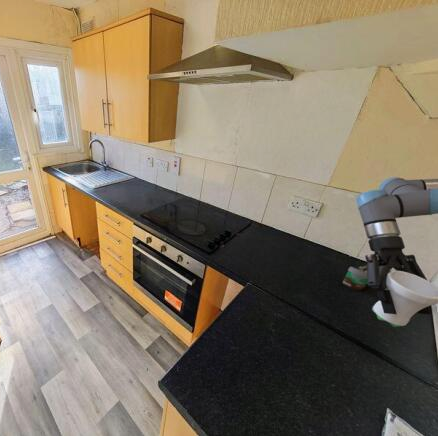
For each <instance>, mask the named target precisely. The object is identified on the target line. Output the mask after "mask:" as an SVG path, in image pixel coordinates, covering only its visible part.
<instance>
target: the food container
mask: <svg viewBox="0 0 438 436" xmlns="http://www.w3.org/2000/svg"><path fill="white" fill-rule="evenodd" d="M341 284H342V285H344V286H346V287H348V288H350V289H351V290H356V291H361V290H363V289H364V288H365V287H366V286H367V264H365V265H358V266H354V267H353V266H350V267H349V268H347V272H346V274H345V276H344V278H343V281H342V282H341Z"/></svg>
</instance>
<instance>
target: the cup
mask: <svg viewBox="0 0 438 436" xmlns="http://www.w3.org/2000/svg"><path fill="white" fill-rule="evenodd" d="M427 280H428V279H427ZM427 280H425V279H423V278H421V277H419V276H416V275H414V274H411V273H407V272H403V271H397V270H395V269H394V270H392V269H391V270H390V273H388V274H387V279H386V285H387V287H386V289H385V290H390V293H391V296H392V300H393V303H394V306H395V310H396V313H397V314H387V313H384V311H383V308H382V304H381V301H380V300H379V299H378V301H377V302H375V304H374V305H373V306H372V307H371V308H372V309H371V311H372V312H373V313H375V315H376V318H377V319H378V320H379V321H383V322H384V321H385V322H387V323H389V324H390V326H392V327H393V328H398V327H399V328H400V327H405V326H407V324H408V323H409V322H410V320H411V318H412V317H413V316H414V315H415V314H416V313H418V311H419V310H421V309H423V308H425V307H428V306H429V307H431V306H436V305H438V286H437V285H435V284H434V283H432V282H431V281H429V280H428V281H427Z"/></svg>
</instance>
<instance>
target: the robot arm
mask: <svg viewBox="0 0 438 436" xmlns="http://www.w3.org/2000/svg"><path fill="white" fill-rule="evenodd" d="M356 204H357V208H358V212H359V215H360V217H361V221H362V224H363V227H364V231H365V235H366V238H367V239H368V241H367V242H368V245H369V249H370V251H371V252H374V253H372V254H365V255H364V257H365V261H366V265H367V284H366V286H367V287H368V288H371V290H373V291H375V292H376V295H377V297H378V301H379V300H380V301H381V304H382V308H383V311H384V313H387V314H397V313H396V310H395V306H394V303H393V300H392V296H391V293H390V290H385V289H386V287H387V285H386V279H387V274H388V273H390V271H391V270H392V269H394V270H397V271H403V272H407V273H411V274H414V275H416V276H419V277H421V278H423V279H425V280H427V281H429V280H428V279H427V277H426V276H425V274H424V272H423V271H422V269H421V267H420V266H419V264H418V262H417V258H416V256H415V255H414V254H405V253H404V252H403V250H404V249H405V248H406V246H405V243H404V240H403V237H402V236H400V235H401V231H400V230H401V229H400V228H399V224H398V222H397V219H400V218H411V217H420V216H432V215H437V214H438V178H426V179H425V178H424V179H423V178H422V179H421V178H420V179H405V178H402V177H397V176H396V177H395V176H394V177H389V178H387V179H385V180H383V181H382V182H381V183H380V184H379V186H378V189H372V190H368V191H364V192H361V193H359V194H358V195H357V197H356ZM430 307H431V306H428V307H425V308H423V309H421V310H419V311H418V312H417V314H421V315H433V314H432V313H433V312H432V311H431V308H430Z"/></svg>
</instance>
